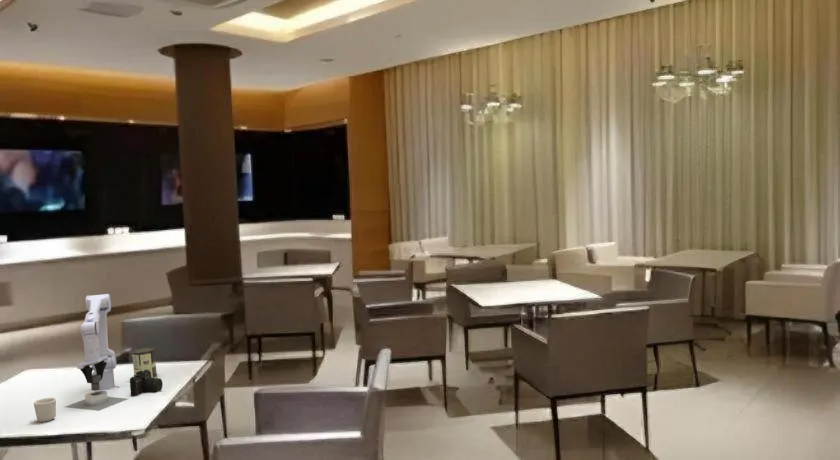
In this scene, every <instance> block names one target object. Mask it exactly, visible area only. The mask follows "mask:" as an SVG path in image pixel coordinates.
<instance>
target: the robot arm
mask: <svg viewBox="0 0 840 460" xmlns="http://www.w3.org/2000/svg"><path fill="white" fill-rule="evenodd" d="M111 301H112V300H111V295H110V294H109V293H104V294H103V293H102V294H93V295H88V294H87V295H86V297H85V307H86V309H87V310H88V312H87V313H86V314H85V317H84V321H83V323H81V325H80V333H81V338H82V341H83V348H84V349H83V350H84V358H85V359H84V361H82V362H79V363H77V364H76V367H77V369H78V370H80V371H81V373H82V374H83V375H84V377H85V380H86V383H87V384H91V383H92V375H94V374H101V381H100V382H99V384H100V389H99V390H98V391H107V390H111V389H113V388H115V389H119V388H120V386H119V385H117V386H116V385H115V374H114V370H115V369H116V368H117V358H116V353H115V351H114V350H113V349H110V348H109V338H108V322H107V321H108V320H107V316H108V313H109V312H111V310H112V302H111Z"/></svg>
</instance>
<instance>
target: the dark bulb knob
mask: <svg viewBox="0 0 840 460" xmlns="http://www.w3.org/2000/svg"><path fill="white" fill-rule="evenodd" d="M100 381H101V374H94V375H92V383H90V385H91V392H95V391H100V390H99V389H100V384H99V382H100Z"/></svg>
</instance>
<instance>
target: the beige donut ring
mask: <svg viewBox="0 0 840 460" xmlns="http://www.w3.org/2000/svg"><path fill="white" fill-rule="evenodd" d="M107 397H108V392H107V390H95V391H91V392H89V393H86V394H85V395H84V399H85V401H86V405H87V406H97V405H101V404H104V403H106V402H107V401H108V400H107Z"/></svg>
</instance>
